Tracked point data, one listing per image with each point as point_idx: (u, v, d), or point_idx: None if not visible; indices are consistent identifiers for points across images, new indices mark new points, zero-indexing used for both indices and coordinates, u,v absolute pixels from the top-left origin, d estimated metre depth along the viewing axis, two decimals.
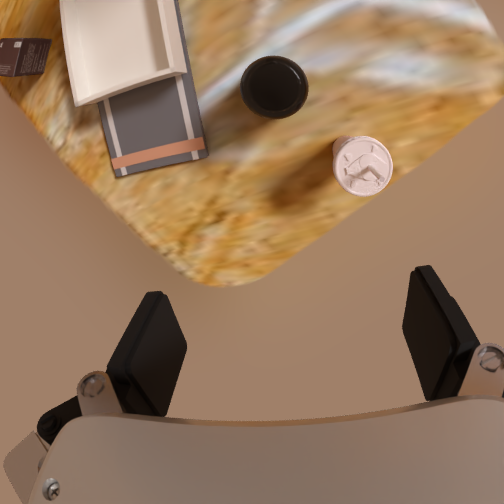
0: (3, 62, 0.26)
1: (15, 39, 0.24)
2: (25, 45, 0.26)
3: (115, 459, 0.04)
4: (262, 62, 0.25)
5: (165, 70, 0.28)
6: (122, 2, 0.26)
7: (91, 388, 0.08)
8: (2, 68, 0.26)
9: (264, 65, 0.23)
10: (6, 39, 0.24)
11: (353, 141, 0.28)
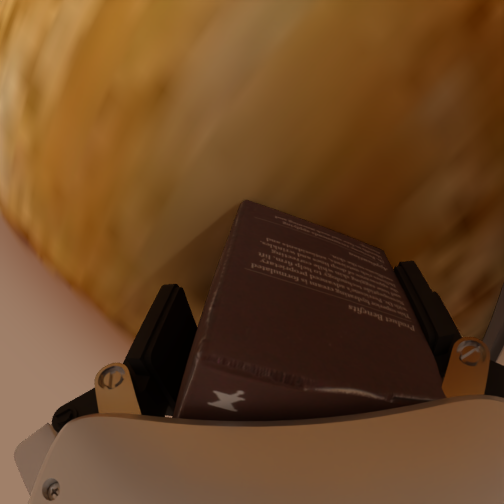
0: None
1: (396, 403, 0.05)
2: None
3: (115, 459, 0.04)
4: None
5: None
6: None
7: (109, 380, 0.08)
8: None
9: None
10: (292, 385, 0.05)
11: None
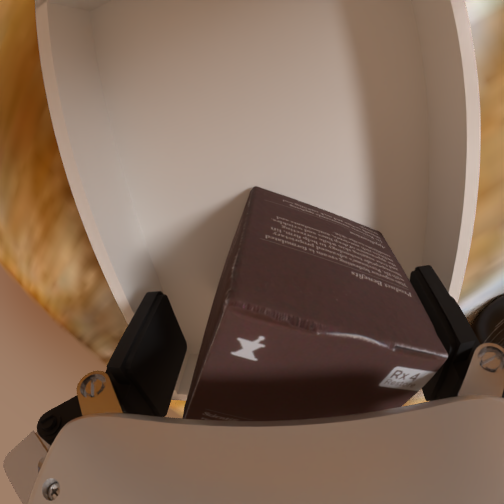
0: (276, 420, 0.08)
1: (398, 352, 0.06)
2: None
3: (115, 459, 0.04)
4: None
5: None
6: (290, 118, 0.11)
7: (91, 388, 0.08)
8: None
9: None
10: (306, 330, 0.06)
11: None
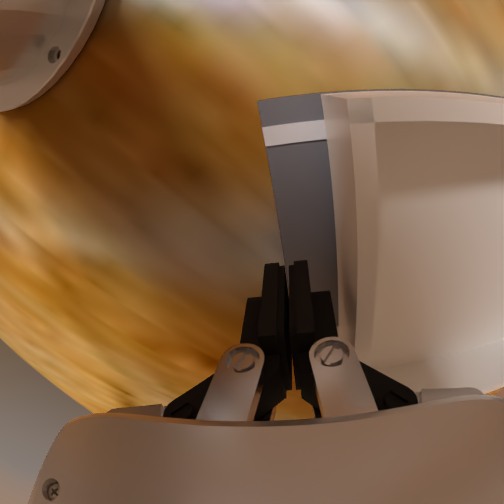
0: None
1: None
2: None
3: (115, 459, 0.04)
4: None
5: None
6: (496, 240, 0.10)
7: (239, 363, 0.08)
8: None
9: None
10: None
11: None
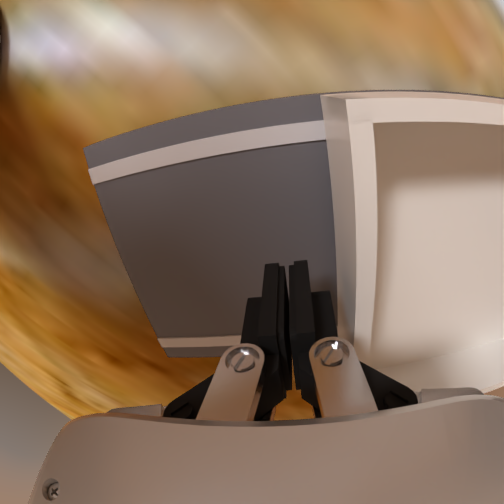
0: None
1: None
2: None
3: (115, 459, 0.04)
4: None
5: None
6: (495, 240, 0.11)
7: (239, 363, 0.08)
8: None
9: None
10: None
11: None
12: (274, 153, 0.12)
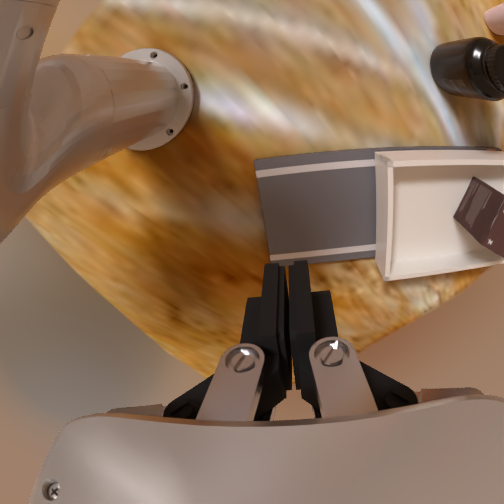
0: None
1: (499, 211, 0.23)
2: None
3: (115, 459, 0.04)
4: (475, 72, 0.18)
5: None
6: (437, 203, 0.31)
7: (239, 363, 0.08)
8: None
9: (496, 71, 0.16)
10: (489, 231, 0.24)
11: None
12: (334, 172, 0.33)
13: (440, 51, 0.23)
